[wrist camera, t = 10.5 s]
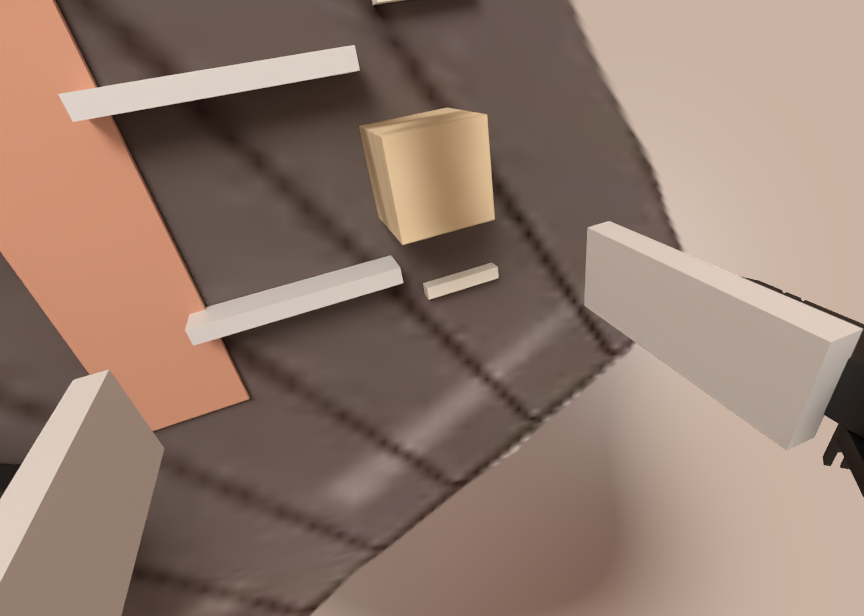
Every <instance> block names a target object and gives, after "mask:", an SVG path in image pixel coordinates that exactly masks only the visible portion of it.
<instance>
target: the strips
mask: <svg viewBox="0 0 864 616" xmlns="http://www.w3.org/2000/svg"><path fill="white" fill-rule="evenodd" d="M397 1H404V0H372V3H373V5H376V4H383V3H390V2H397ZM497 278H498V267H497V266H496V265H495V264H493V263H488V264H485V265H482V266H478V267H475V268H472V269H469V270H465V271H462V272H459V273H455V274H452V275H449V276H445V277H442V278H439V279H435V280H432V281H429V282H425V283H423V287H424V293H425V295H426V297H427V298H428V299H429V300H430V299H433V298H436V297H439V296H443V295H446V294H449V293H452V292H455V291H459V290H462V289H465V288H468V287H472V286H475V285H478V284H481V283H484V282H488V281H491V280H494V279H497Z"/></svg>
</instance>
